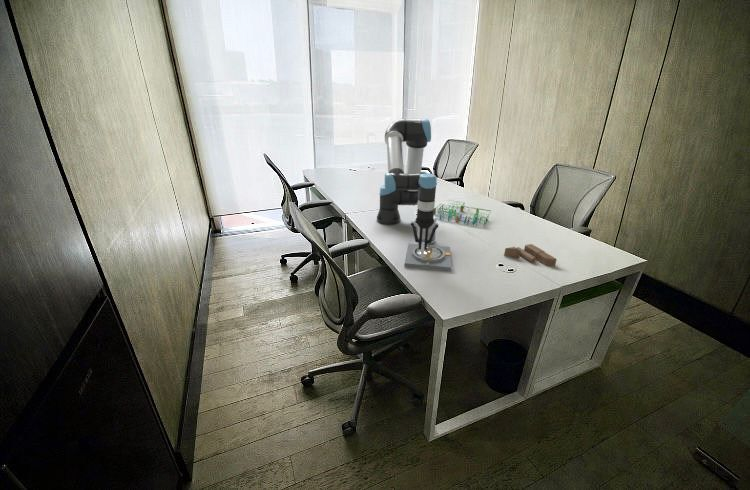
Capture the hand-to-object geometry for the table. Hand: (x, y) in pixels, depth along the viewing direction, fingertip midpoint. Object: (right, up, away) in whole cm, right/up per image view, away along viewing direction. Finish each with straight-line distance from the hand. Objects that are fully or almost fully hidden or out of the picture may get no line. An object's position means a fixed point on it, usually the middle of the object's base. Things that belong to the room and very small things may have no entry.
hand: (422, 255), depth 159 cm
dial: (+4, 0, +6) cm, 7 cm away
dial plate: (+4, -2, +8) cm, 9 cm away
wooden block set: (+54, -3, +7) cm, 55 cm away
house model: (+35, +24, +63) cm, 76 cm away
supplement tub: (+6, +7, +26) cm, 28 cm away
